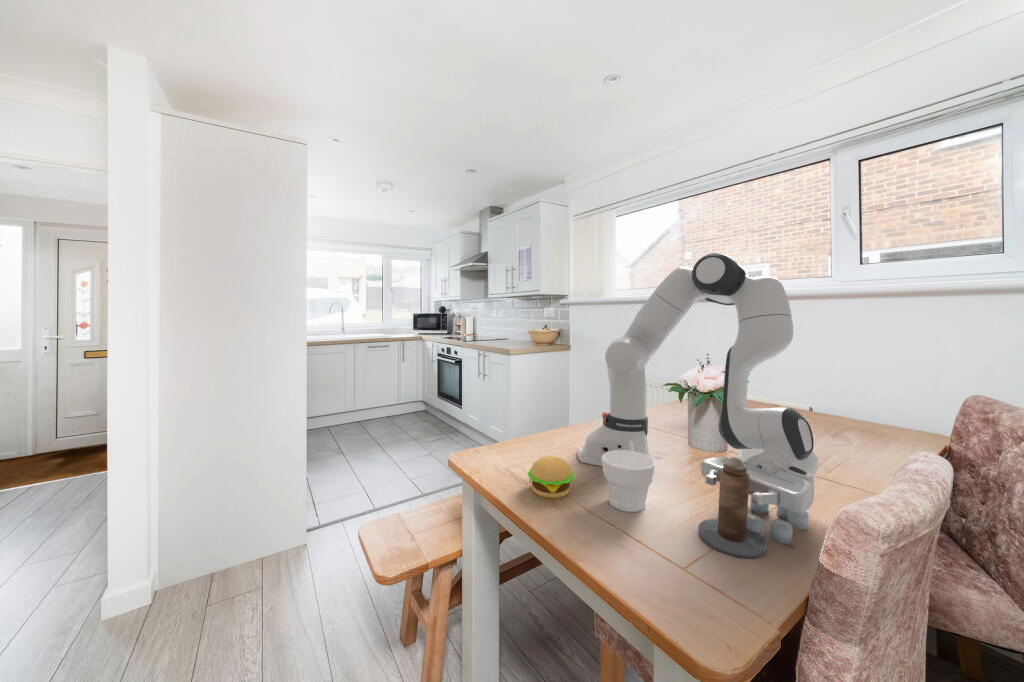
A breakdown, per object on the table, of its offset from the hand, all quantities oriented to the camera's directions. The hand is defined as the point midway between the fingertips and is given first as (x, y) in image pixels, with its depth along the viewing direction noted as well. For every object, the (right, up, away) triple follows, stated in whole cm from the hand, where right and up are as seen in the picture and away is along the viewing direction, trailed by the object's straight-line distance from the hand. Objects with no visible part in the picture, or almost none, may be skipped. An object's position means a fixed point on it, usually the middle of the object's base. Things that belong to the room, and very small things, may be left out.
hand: (730, 489), depth 76 cm
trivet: (+1, -11, +1) cm, 11 cm away
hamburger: (-34, -9, +23) cm, 42 cm away
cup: (-16, -10, +16) cm, 25 cm away
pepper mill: (+1, -10, +1) cm, 10 cm away
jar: (+31, -8, +42) cm, 53 cm away
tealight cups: (+13, -10, +7) cm, 18 cm away
